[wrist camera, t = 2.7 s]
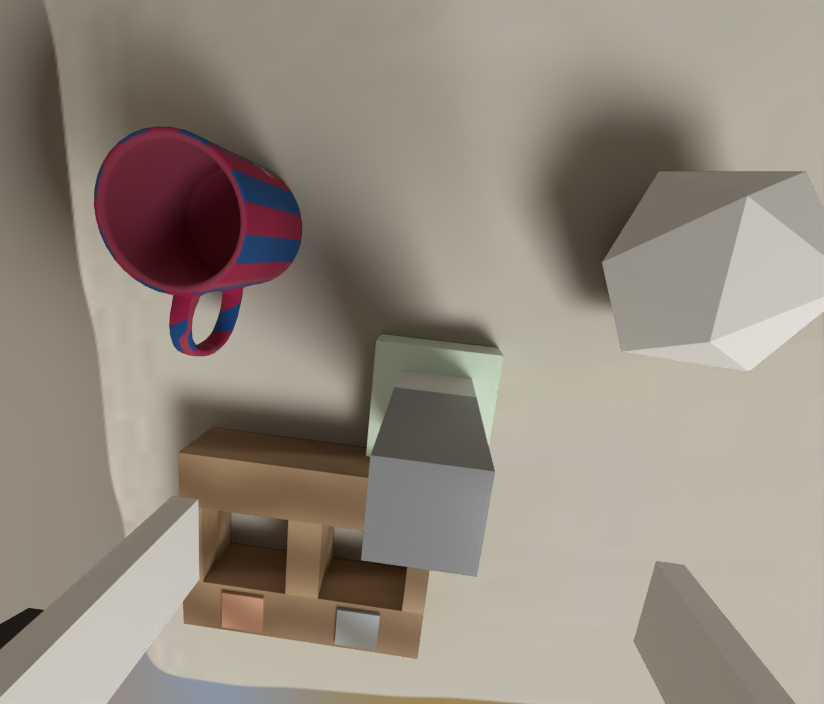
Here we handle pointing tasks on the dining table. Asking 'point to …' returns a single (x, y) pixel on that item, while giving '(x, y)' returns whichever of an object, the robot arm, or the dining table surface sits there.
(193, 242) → the mug
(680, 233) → the die
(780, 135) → the dining table surface
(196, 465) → the socket block
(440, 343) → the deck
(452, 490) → the plug
